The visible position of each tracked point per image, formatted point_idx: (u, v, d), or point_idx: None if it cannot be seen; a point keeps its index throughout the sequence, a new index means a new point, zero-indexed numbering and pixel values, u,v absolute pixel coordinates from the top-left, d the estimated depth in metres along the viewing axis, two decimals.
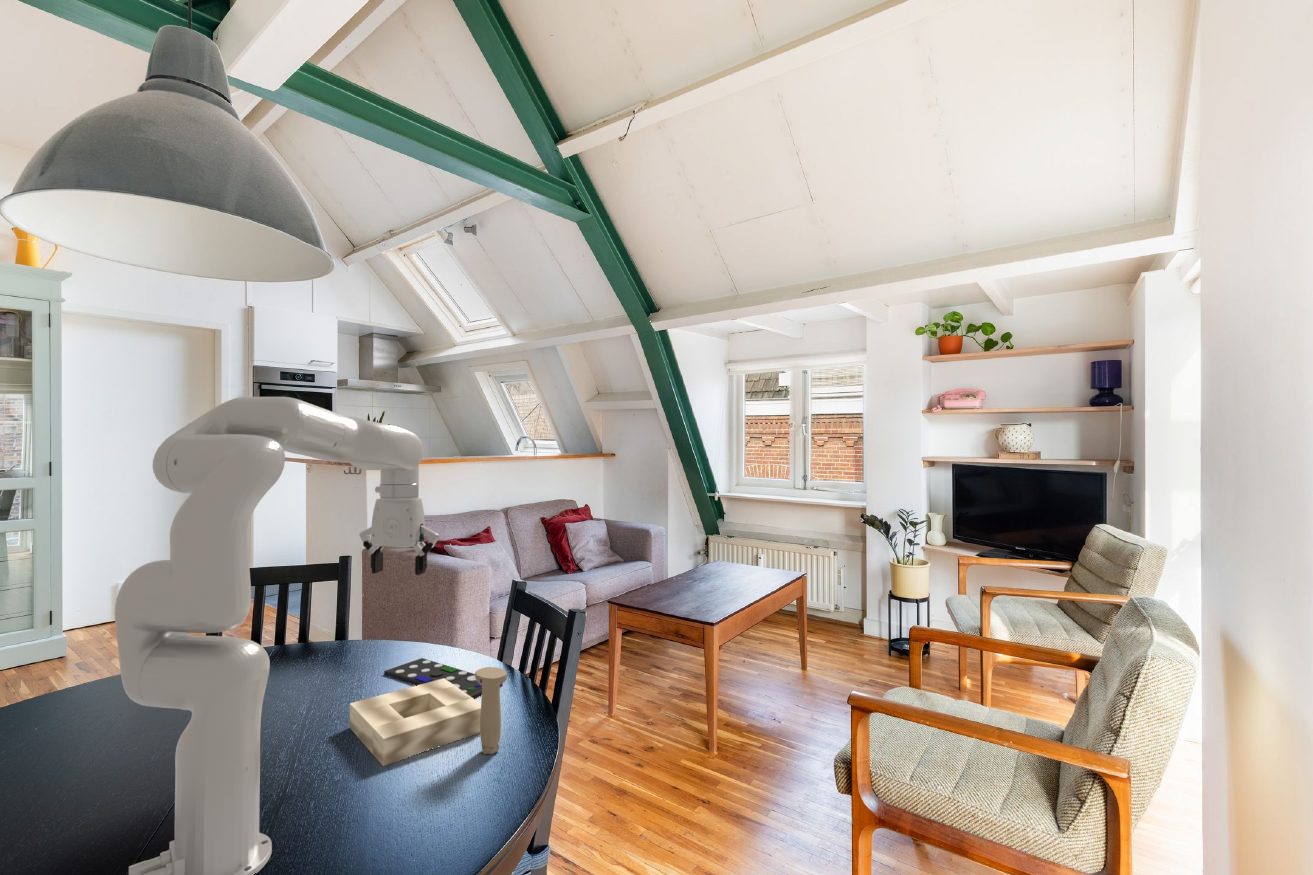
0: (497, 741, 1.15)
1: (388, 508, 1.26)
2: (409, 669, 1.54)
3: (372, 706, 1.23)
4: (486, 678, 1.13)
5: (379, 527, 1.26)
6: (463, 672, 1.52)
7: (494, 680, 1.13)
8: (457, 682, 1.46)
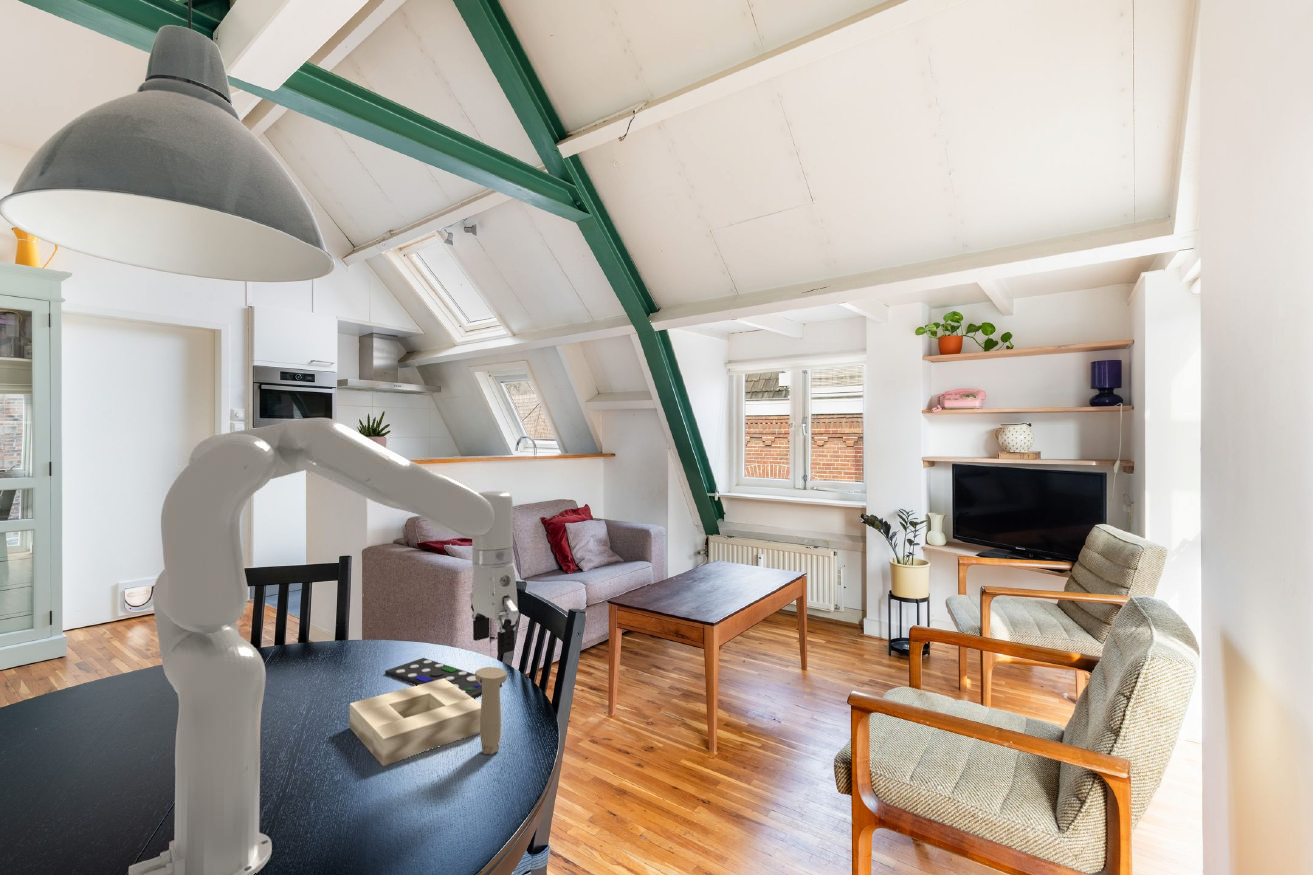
0: (497, 741, 1.15)
1: None
2: (410, 669, 1.54)
3: (372, 706, 1.23)
4: (486, 678, 1.13)
5: None
6: (463, 672, 1.52)
7: (494, 680, 1.13)
8: (456, 682, 1.46)
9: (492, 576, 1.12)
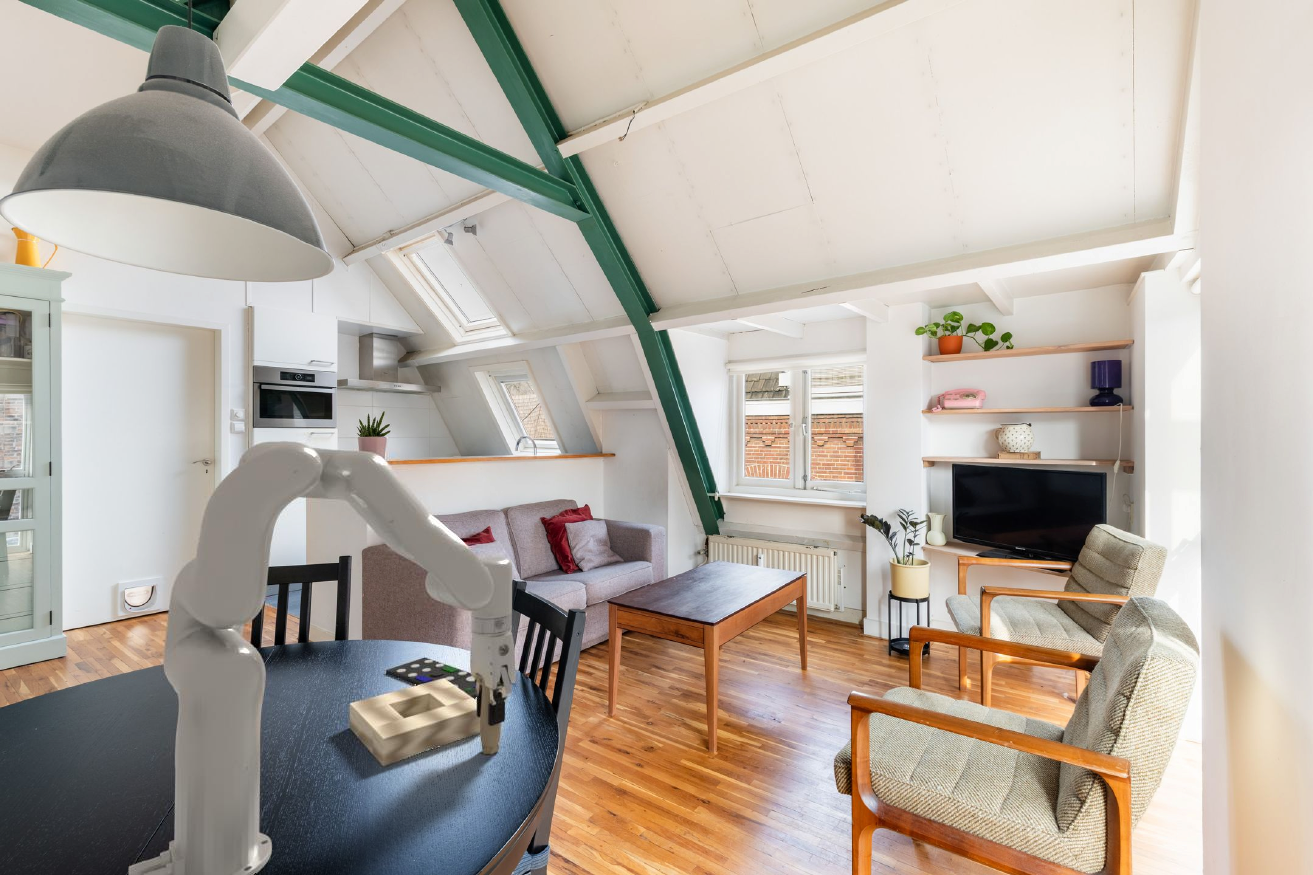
0: (497, 741, 1.15)
1: None
2: (410, 668, 1.54)
3: (372, 706, 1.23)
4: None
5: None
6: (463, 672, 1.52)
7: None
8: (456, 682, 1.46)
9: (491, 645, 1.12)
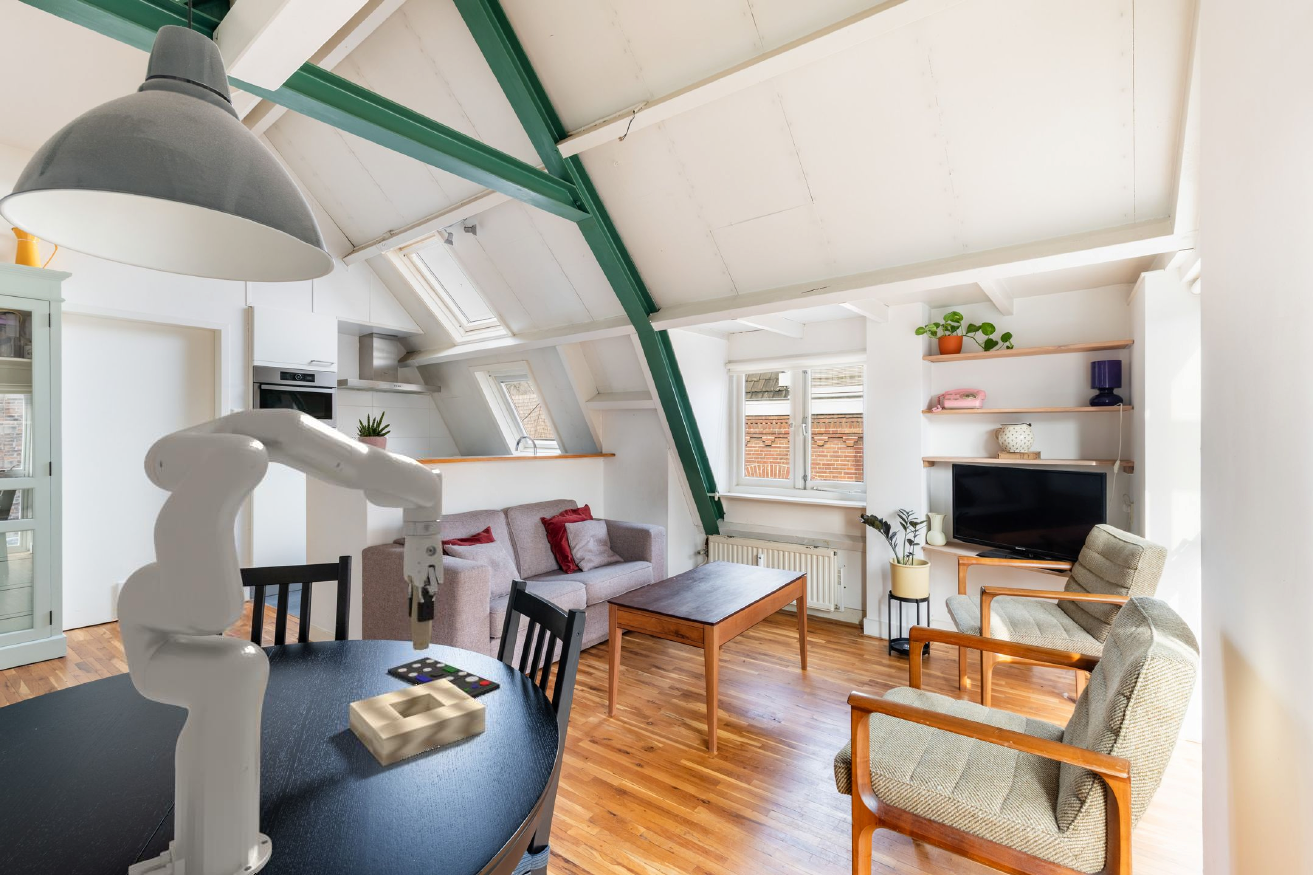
0: (427, 638, 1.23)
1: None
2: (412, 668, 1.55)
3: (372, 706, 1.23)
4: None
5: None
6: (463, 672, 1.51)
7: None
8: (455, 683, 1.46)
9: (419, 546, 1.20)
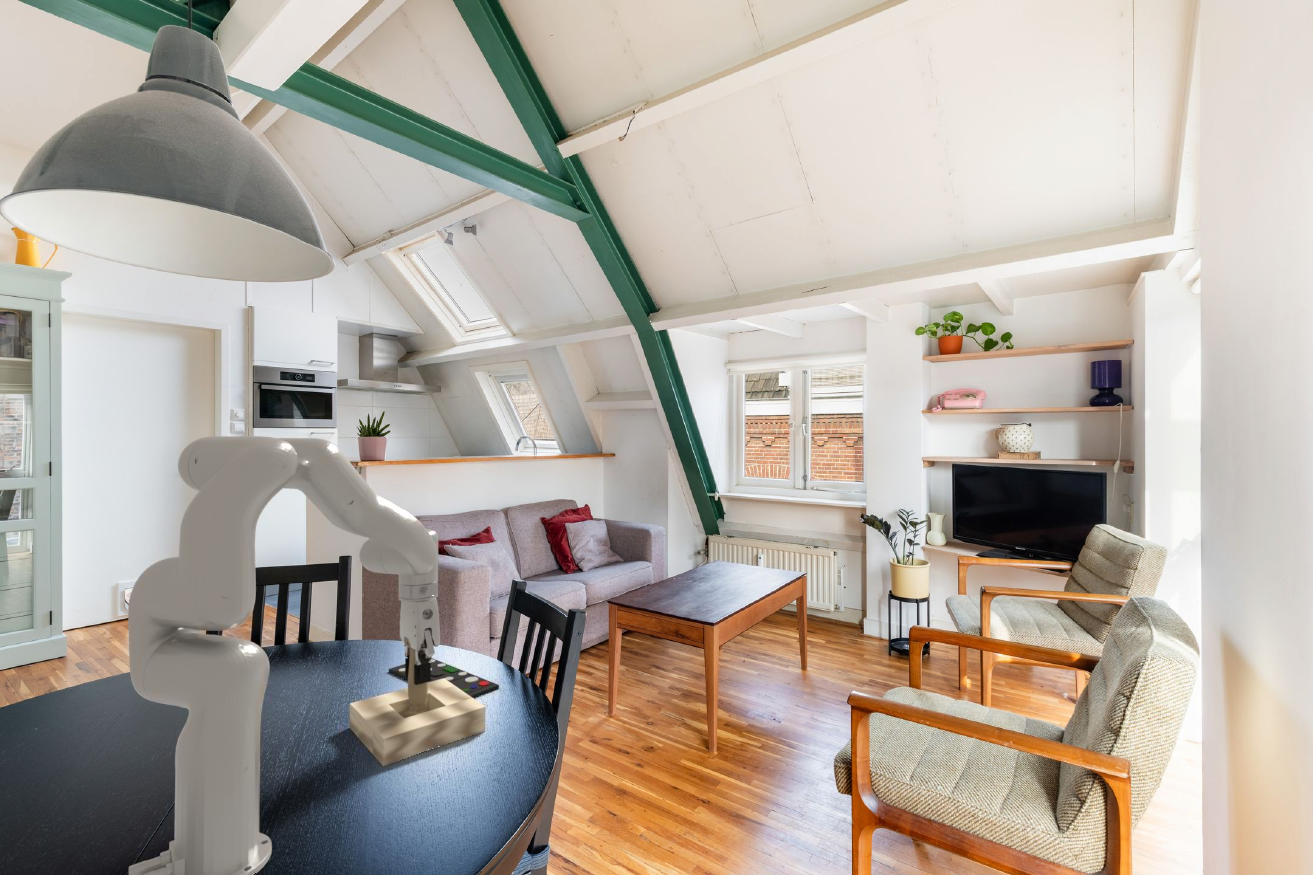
0: (424, 699, 1.23)
1: None
2: None
3: (372, 706, 1.23)
4: None
5: None
6: (463, 673, 1.51)
7: None
8: (454, 683, 1.45)
9: (415, 610, 1.20)
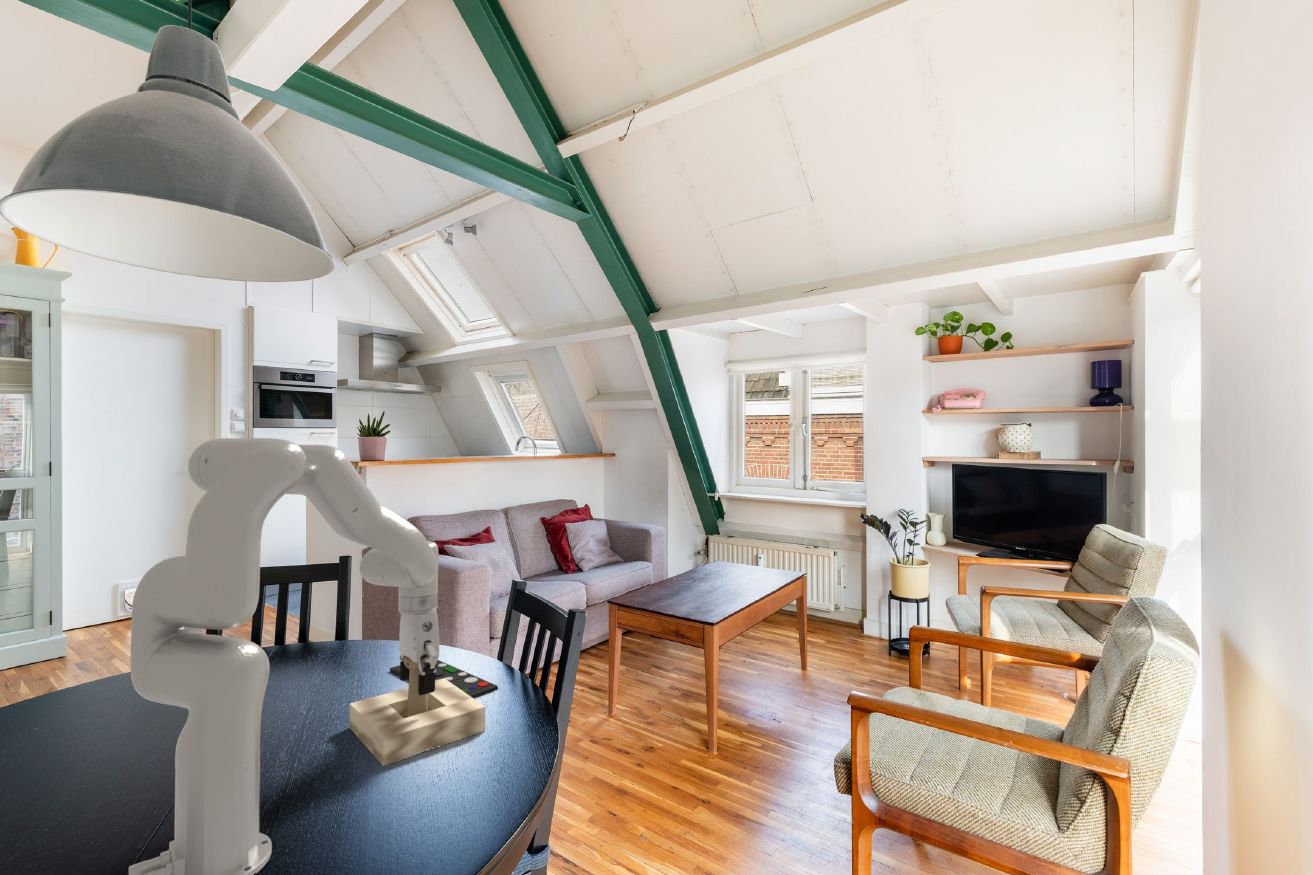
0: None
1: None
2: None
3: (372, 706, 1.23)
4: None
5: None
6: (463, 673, 1.51)
7: None
8: (454, 683, 1.45)
9: (415, 622, 1.20)
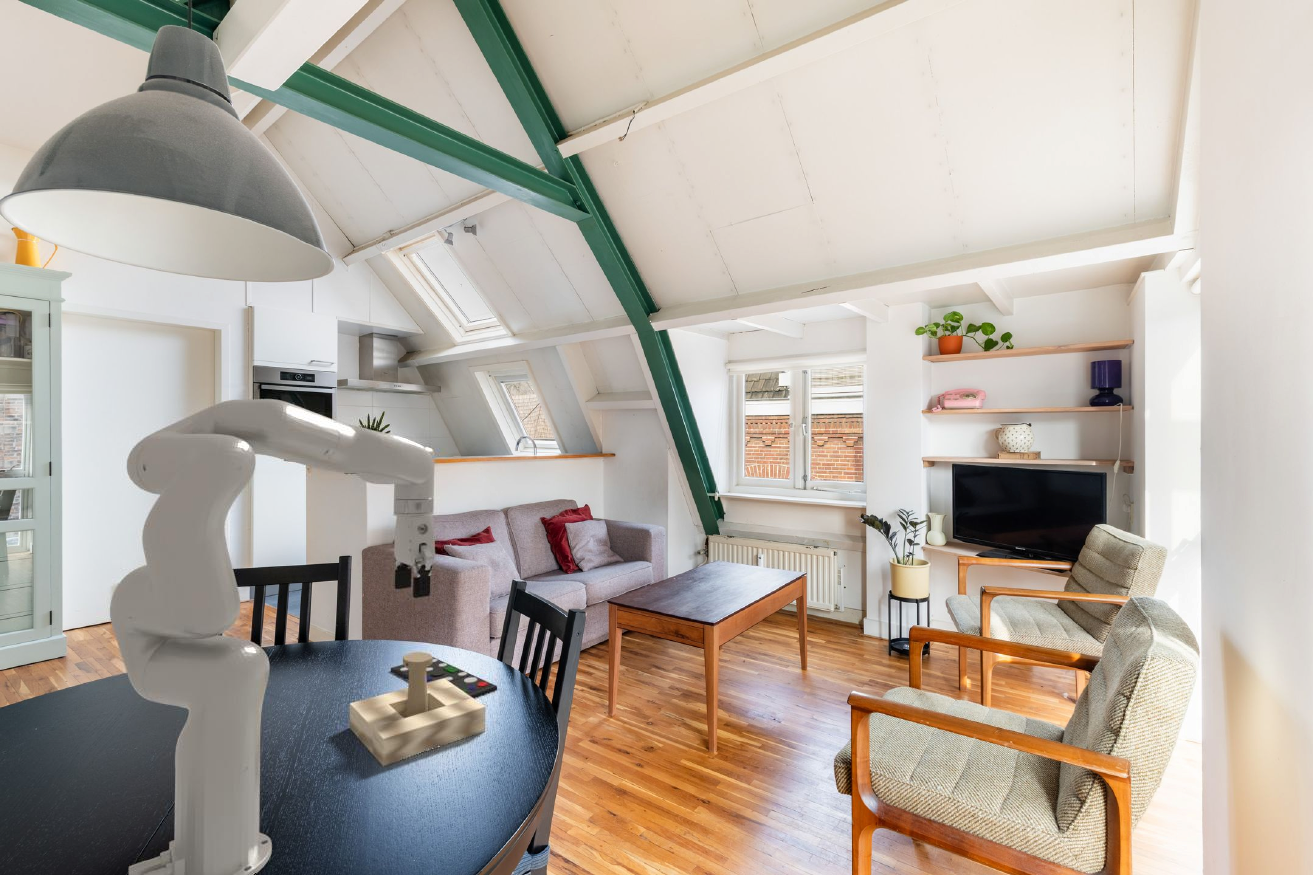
0: None
1: None
2: None
3: (372, 706, 1.23)
4: (412, 661, 1.21)
5: None
6: (463, 673, 1.51)
7: (419, 664, 1.21)
8: (453, 683, 1.45)
9: (410, 524, 1.18)
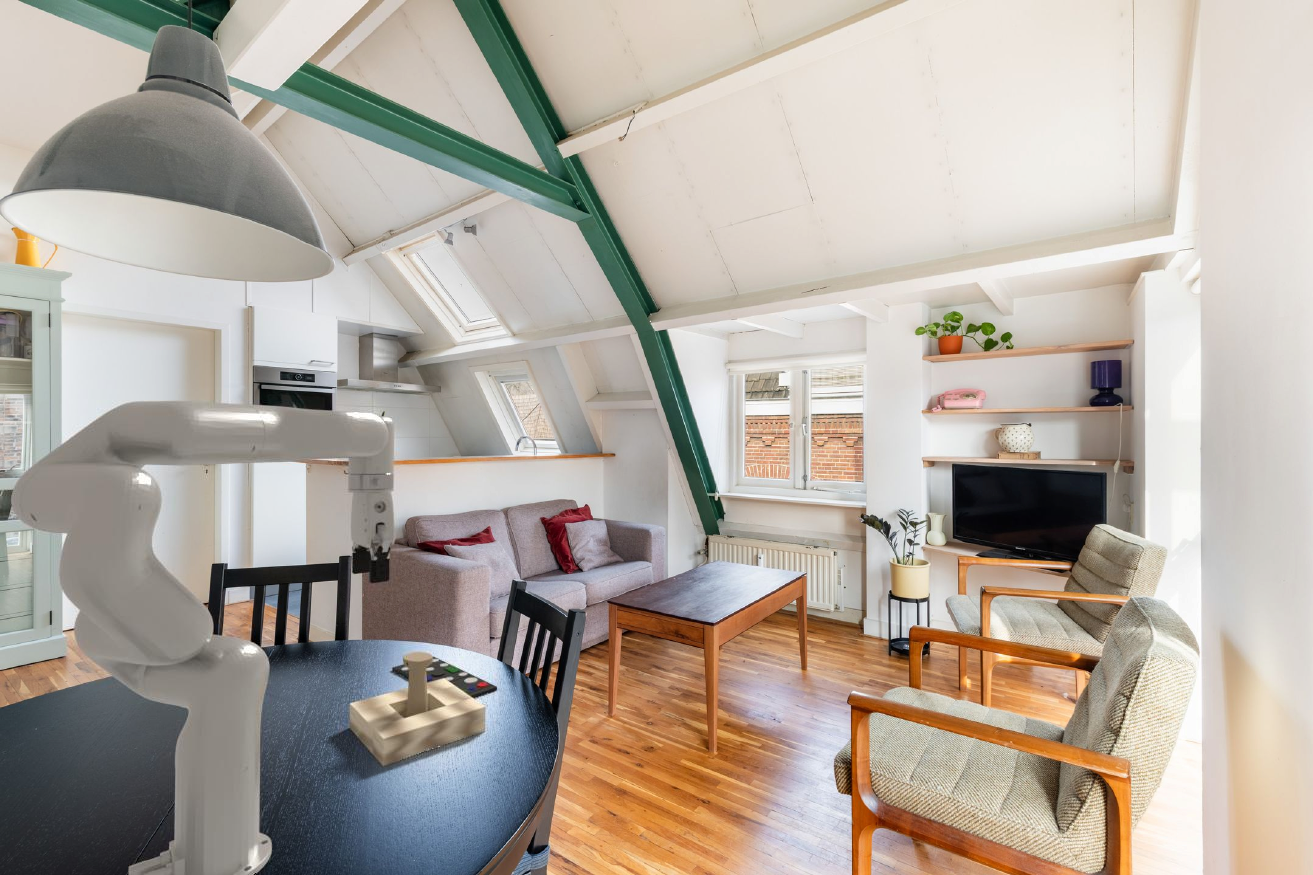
0: None
1: None
2: None
3: (372, 706, 1.23)
4: (412, 661, 1.21)
5: None
6: (463, 673, 1.51)
7: (419, 663, 1.21)
8: (453, 683, 1.45)
9: (365, 501, 1.06)
